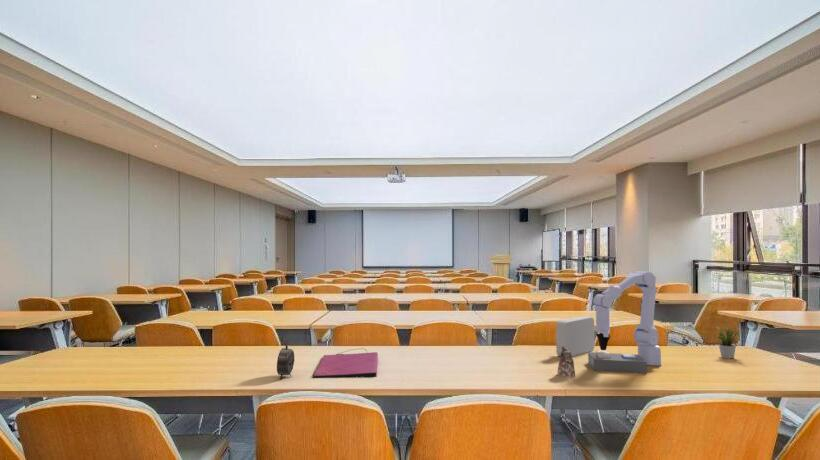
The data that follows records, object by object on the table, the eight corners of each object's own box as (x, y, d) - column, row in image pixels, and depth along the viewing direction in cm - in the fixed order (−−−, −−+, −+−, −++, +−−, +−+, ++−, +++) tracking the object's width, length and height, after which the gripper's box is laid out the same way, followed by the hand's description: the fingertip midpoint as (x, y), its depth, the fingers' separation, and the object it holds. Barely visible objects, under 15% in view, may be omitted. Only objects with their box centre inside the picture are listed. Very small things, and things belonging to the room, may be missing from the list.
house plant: (753, 358, 222) (752, 325, 222) (742, 362, 214) (741, 328, 214) (720, 353, 233) (719, 321, 234) (708, 356, 226) (708, 324, 226)
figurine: (562, 378, 188) (562, 349, 188) (554, 373, 195) (554, 346, 195) (578, 377, 189) (577, 349, 189) (569, 372, 196) (569, 345, 196)
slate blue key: (633, 364, 205) (633, 354, 205) (636, 367, 200) (636, 357, 200) (621, 363, 206) (621, 353, 206) (624, 366, 201) (624, 356, 201)
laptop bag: (376, 369, 189) (312, 371, 188) (377, 378, 189) (312, 381, 187) (378, 347, 229) (325, 349, 227) (378, 355, 229) (325, 357, 227)
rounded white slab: (581, 347, 245) (581, 315, 246) (594, 350, 239) (594, 316, 240) (552, 355, 227) (551, 320, 228) (565, 358, 221) (565, 322, 222)
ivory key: (608, 360, 207) (607, 351, 207) (610, 363, 202) (610, 353, 203) (596, 360, 208) (596, 350, 209) (598, 362, 203) (598, 352, 204)
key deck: (638, 365, 208) (637, 354, 209) (646, 373, 195) (646, 362, 195) (588, 362, 213) (588, 352, 213) (593, 370, 200) (593, 359, 200)
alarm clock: (284, 373, 194) (284, 336, 195) (296, 373, 194) (296, 336, 195) (275, 380, 183) (276, 341, 184) (288, 381, 183) (289, 341, 184)
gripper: (590, 317, 214) (591, 346, 214) (596, 322, 200) (596, 352, 199) (606, 318, 213) (607, 346, 212) (613, 323, 198) (613, 353, 198)
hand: (603, 349), depth 206 cm, fingers closed
